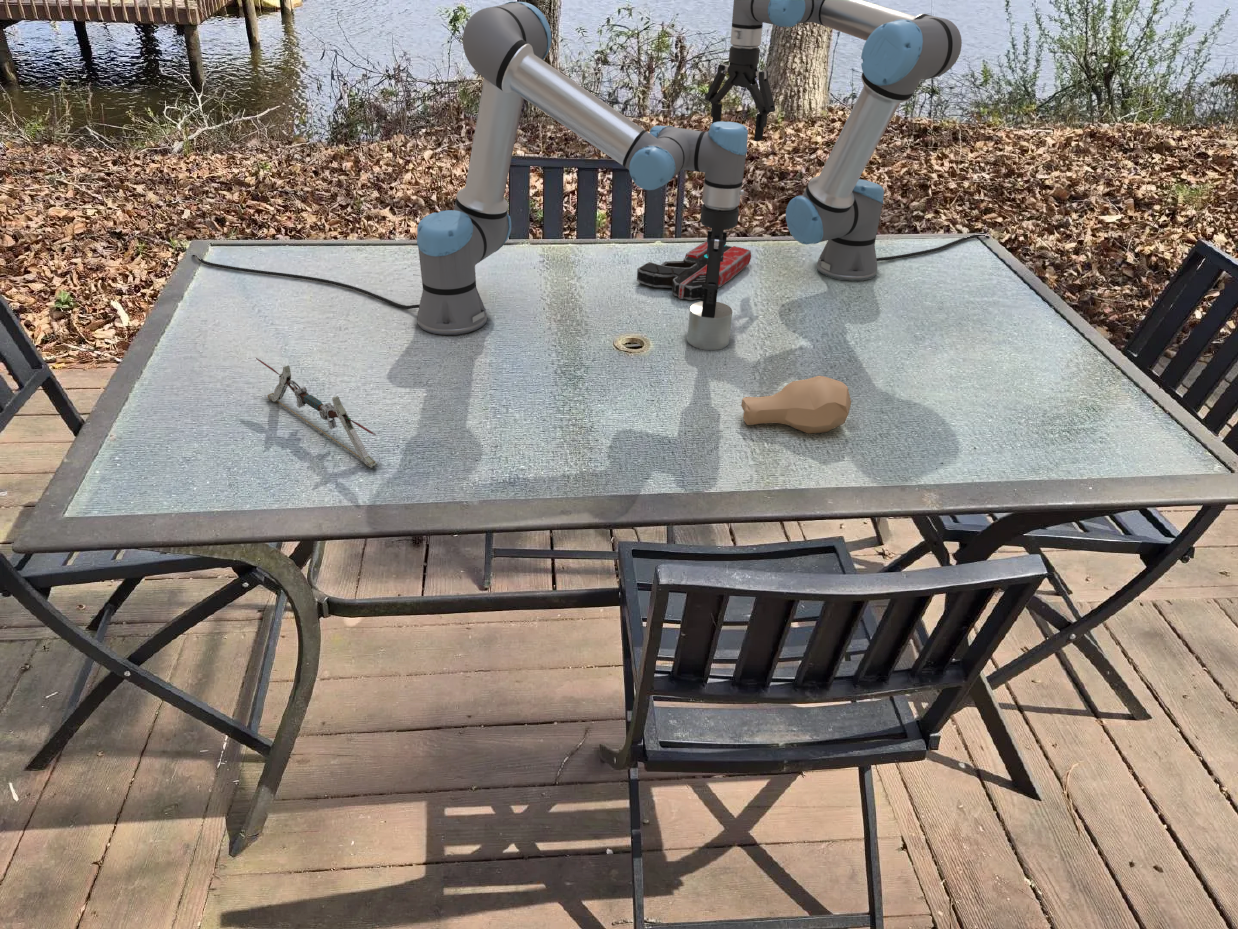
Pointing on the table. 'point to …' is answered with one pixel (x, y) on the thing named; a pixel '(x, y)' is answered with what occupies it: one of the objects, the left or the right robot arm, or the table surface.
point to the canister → (709, 327)
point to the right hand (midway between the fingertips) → (736, 135)
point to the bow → (322, 411)
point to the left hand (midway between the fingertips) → (709, 303)
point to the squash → (802, 405)
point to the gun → (693, 271)
